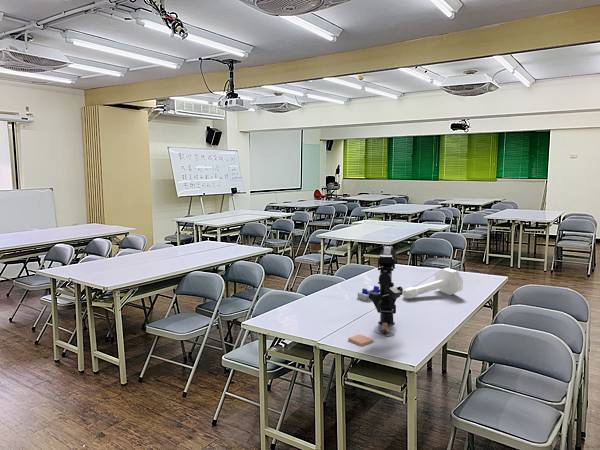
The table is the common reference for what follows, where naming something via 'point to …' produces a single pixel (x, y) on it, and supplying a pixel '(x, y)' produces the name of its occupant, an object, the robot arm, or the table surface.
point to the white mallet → (438, 284)
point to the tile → (360, 340)
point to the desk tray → (364, 296)
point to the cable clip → (372, 291)
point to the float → (384, 331)
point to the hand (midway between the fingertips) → (385, 310)
